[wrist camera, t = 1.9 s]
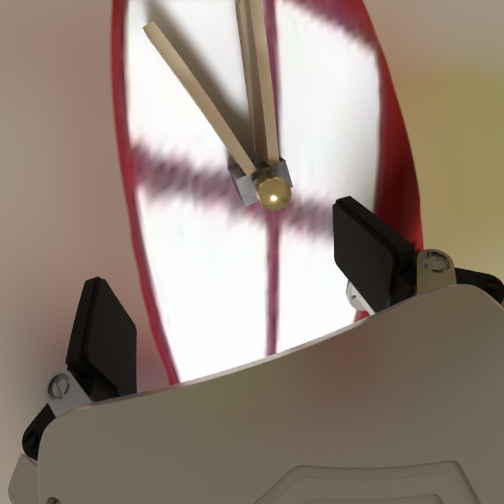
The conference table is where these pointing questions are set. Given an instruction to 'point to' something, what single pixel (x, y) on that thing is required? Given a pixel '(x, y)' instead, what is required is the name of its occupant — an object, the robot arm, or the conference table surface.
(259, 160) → the tong hinge
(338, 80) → the conference table surface
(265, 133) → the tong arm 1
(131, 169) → the conference table surface
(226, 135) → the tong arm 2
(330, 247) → the conference table surface
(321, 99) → the conference table surface
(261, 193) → the lock button
